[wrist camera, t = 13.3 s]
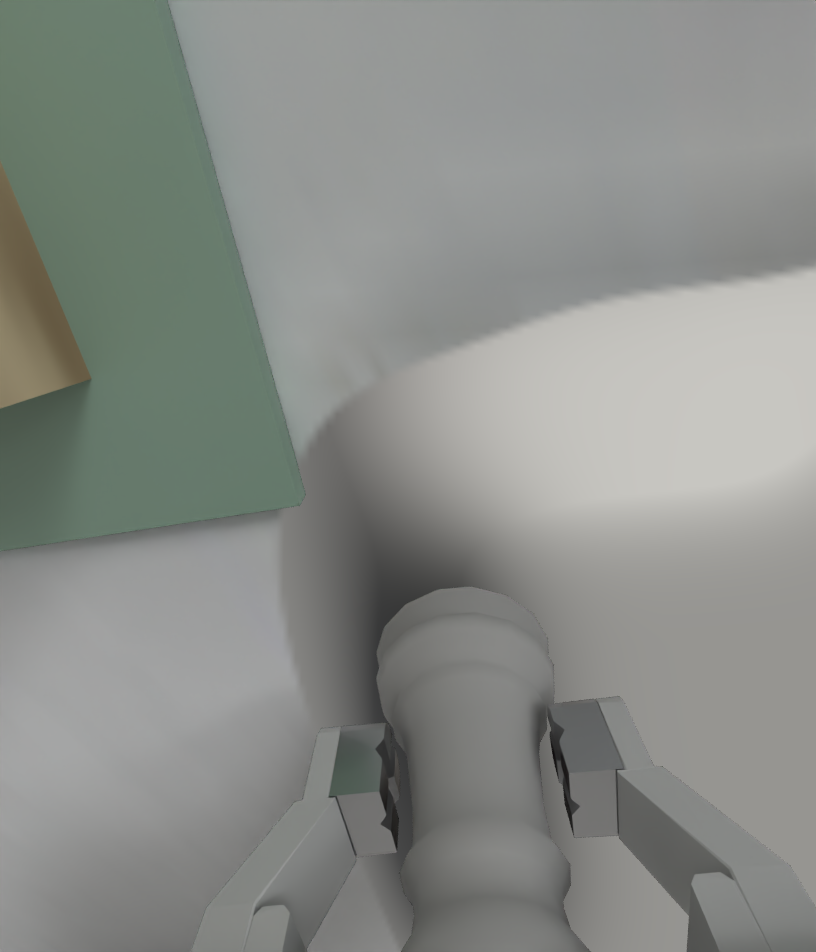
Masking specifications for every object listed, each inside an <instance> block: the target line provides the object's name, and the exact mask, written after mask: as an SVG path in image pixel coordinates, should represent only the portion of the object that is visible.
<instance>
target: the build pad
mask: <svg viewBox="0 0 816 952" xmlns="http://www.w3.org/2000/svg"><path fill="white" fill-rule="evenodd" d="M0 161H1V163H2V166H3V168H4V171H5V173H6V175H7V178H8V180H9V183H10V185H11V187H12V190H13V192H14V194H15V197H16V199H17V202H18V204H19V206H20V209H21V211H22V214H23V216H24V218H25V221H26V223H27V226H28V228H29V230H30V233H31V235H32V237H33V240H34V242H35V245H36V247H37V249H38V252H39V254H40V257H41V259H42V261H43V264H44V266H45V269H46V271H47V273H48V276H49V278H50V281H51V283H52V285H53V288H54V290H55V292H56V295H57V297H58V300H59V302H60V304H61V307H62V309H63V312H64V314H65V316H66V319H67V321H68V324H69V326H70V328H71V331H72V333H73V335H74V338H75V340H76V343H77V345H78V347H79V350H80V352H81V355H82V357H83V359H84V362H85V364H86V367H87V369H88V371H89V374H90V376H91V378H92V379H89V380H86V381H83V382H80V383H77V384H74V385H71V386H68V387H65V388H62V389H59V390H56V391H53V392H50V393H47V394H44V395H40V396H37V397H34V398H31V399H28V400H25V401H22V402H19V403H16V404H13V405H10V406H7V407H4V408H1V409H0V551H5V550H12V549H18V548H25V547H31V546H38V545H45V544H51V543H58V542H64V541H71V540H77V539H84V538H91V537H97V536H104V535H110V534H117V533H123V532H130V531H137V530H143V529H150V528H156V527H163V526H169V525H176V524H183V523H189V522H196V521H202V520H209V519H215V518H222V517H229V516H235V515H242V514H248V513H255V512H262V511H268V510H275V509H281V508H288V507H294V506H300V504H301V503H302V501H303V498H304V497H305V495H306V494H305V490H304V486H303V483H302V479H301V476H300V472H299V469H298V465H297V461H296V458H295V454H294V451H293V447H292V444H291V440H290V436H289V433H288V429H287V426H286V422H285V419H284V415H283V412H282V408H281V404H280V401H279V397H278V394H277V390H276V387H275V383H274V379H273V376H272V372H271V369H270V365H269V362H268V358H267V355H266V351H265V347H264V344H263V340H262V337H261V333H260V330H259V326H258V322H257V319H256V315H255V312H254V308H253V305H252V301H251V298H250V294H249V290H248V287H247V283H246V280H245V276H244V273H243V269H242V265H241V262H240V258H239V255H238V251H237V248H236V244H235V241H234V237H233V233H232V230H231V226H230V223H229V219H228V216H227V212H226V208H225V205H224V201H223V198H222V194H221V191H220V187H219V184H218V180H217V176H216V173H215V169H214V166H213V162H212V159H211V155H210V152H209V148H208V144H207V141H206V137H205V134H204V130H203V127H202V123H201V119H200V116H199V112H198V109H197V105H196V102H195V98H194V95H193V91H192V87H191V84H190V80H189V77H188V73H187V70H186V66H185V62H184V59H183V55H182V52H181V48H180V45H179V41H178V38H177V34H176V30H175V27H174V23H173V20H172V16H171V13H170V9H169V5H168V2H167V0H0Z"/></svg>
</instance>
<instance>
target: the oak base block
mask: <svg viewBox="0 0 816 952" xmlns="http://www.w3.org/2000/svg"><path fill="white" fill-rule="evenodd" d="M89 379H92V378H91V376H90V374H89V371H88V369H87V367H86V364H85V362H84V359H83V357H82V355H81V352H80V350H79V347H78V345H77V343H76V340H75V338H74V335H73V333H72V331H71V328H70V326H69V324H68V321H67V319H66V316H65V314H64V312H63V309H62V307H61V304H60V302H59V300H58V297H57V295H56V292H55V290H54V288H53V285H52V283H51V281H50V278H49V276H48V273H47V271H46V269H45V266H44V264H43V261H42V259H41V257H40V254H39V252H38V249H37V247H36V245H35V242H34V240H33V237H32V235H31V233H30V230H29V228H28V226H27V223H26V221H25V218H24V216H23V214H22V211H21V209H20V206H19V204H18V202H17V199H16V197H15V194H14V192H13V190H12V187H11V185H10V183H9V180H8V178H7V175H6V173H5V171H4V168H3V166H2V163H1V161H0V409H1V408H4V407H7V406H10V405H13V404H16V403H19V402H22V401H25V400H28V399H31V398H34V397H37V396H40V395H44V394H47V393H50V392H53V391H56V390H59V389H62V388H65V387H68V386H71V385H74V384H77V383H80V382H83V381H86V380H89Z"/></svg>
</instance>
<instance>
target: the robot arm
mask: <svg viewBox="0 0 816 952" xmlns="http://www.w3.org/2000/svg"><path fill="white" fill-rule="evenodd" d="M547 711H548V719H549V723H550V726H551V732H550V740H551V748H552V754H553V759H554V764H555V768H556V772H557V776H558V779H559V783H561V784H562V785H563V789H564V790H563V791H564V801H565V806H566V810H567V813H568V817H569V821H570V824H571V828H572V832H573V835H574V838H582V837H599V836H600V837H601V836H619V839H620V840H621V841H622V842H623V843H624V844H625V845H626V846H627V848H628V849H629V850H630V851H631V852H632V853H633V854H634V855H635V856H636V858H637V859H638V860H639V861H640V862H641V863H642V864H643V865H644V866H645V868H646V869H647V870H648V871H649V872H650V873H651V874H652V875H653V876H654V878H656V880H657V881H658V882H659V883H660V884H661V885H662V886H663V888H664V889H665V890H666V891H667V892H668V893H669V894H670V895H671V897H672V898H673V899H674V900H675V901H676V902H677V903H678V904H679V905H680V906H681V908H682V909H683V910H684V911H685V912H686V913H687V914H688V915H689V926H688V940H687V952H816V907H815V905H814V903H813V902H812V900H811V899H810V897H809V895H808V894H807V892H806V890H805V889H804V887H803V886H802V884H801V882H800V881H799V879H798V877H797V876H796V874H795V873H794V871H793V869H792V868H791V866H790V865H789V864H788V863H786V862H785V861H784V860H783V859H781V858H780V857H778V856H777V855H776V854H775V853H774V852H772V851H771V850H770V849H768V848H767V847H766V846H765V845H763V844H762V843H761V842H759V841H758V840H757V839H755V838H754V837H753V836H752V835H750V834H749V833H748V832H746V831H745V830H744V829H742V828H741V827H740V826H739V825H737V824H736V823H735V822H734V821H732V820H731V819H730V818H728V817H727V816H726V815H724V814H723V813H722V812H721V811H719V810H718V809H717V808H715V807H714V806H713V805H712V804H710V803H709V802H708V801H706V800H705V799H704V798H702V797H701V796H700V795H699V794H697V793H696V792H695V791H693V790H692V789H691V788H690V787H688V786H687V785H686V784H684V783H683V782H682V781H681V780H679V779H678V778H677V777H675V776H674V775H673V774H672V773H670V772H669V771H668V770H666V769H665V768H664V767H663V766H660V767H654V765H653V762H652V760H651V759H650V756H649V754H648V752H647V750H646V748H645V745H644V743H643V741H642V739H641V737H640V735H639V733H638V731H637V728H636V726H635V724H634V722H633V720H632V718H631V716H630V714H629V711H628V709H627V707H626V705H625V703H624V701H623V699H622V698H621V697H619V696H617V697H608V698H599V699H595V700H594V699H589V700H579V701H571V702H563V703H555V704H548V705H547ZM391 738H392V733H391V730H390V726H389V724H388V723H376V724H375V723H374V724H362V725H349V726H340V727H329V728H321V729H320V731H319V733H318V735H317V738H316V742H315V746H314V751H313V755H312V759H311V764H310V768H309V772H308V777H307V781H306V785H305V790H304V794H303V798H302V800H300V801H295V802H294V803H293V804H292V806H291V807H290V808H289V809H288V810H287V812H286V813H285V814H284V815H283V816H282V818H281V819H280V820H279V821H278V822H277V824H276V825H275V826H274V827H273V828H272V830H271V831H270V832H269V833H268V834H267V836H266V837H265V838H264V839H263V840H262V842H261V843H260V844H259V845H258V846H257V848H256V849H255V850H254V851H253V852H252V854H251V855H250V856H249V857H248V858H247V860H246V861H245V862H244V863H243V864H242V866H241V867H240V868H239V869H238V870H237V872H236V873H235V874H234V875H233V876H232V878H231V879H230V880H229V881H228V882H227V884H226V885H225V886H224V887H223V888H222V890H221V891H220V892H219V893H218V894H217V896H216V897H215V898H214V899H213V900H212V902H211V903H210V904H209V905H208V906H207V907H206V910H205V913H204V916H203V918H202V921H201V924H200V927H199V930H198V933H197V936H196V939H195V942H194V945H193V947H192V950H191V952H307V948H308V946H309V944H310V942H311V941H312V939H313V937H314V935H315V934H316V932H317V930H318V928H319V926H320V925H321V923H322V921H323V919H324V917H325V916H326V914H327V912H328V910H329V909H330V907H331V905H332V903H333V901H334V900H335V898H336V896H337V894H338V893H339V891H340V889H341V887H342V885H343V884H344V882H345V880H346V878H347V877H348V875H349V873H350V871H351V869H352V868H353V866H354V864H355V862H356V857H363V856H372V855H381V854H389V853H397V841H398V823H399V818H398V814H397V810H396V806H395V803H396V802H397V800H398V799H399V797H400V771H399V762H398V756H397V752H396V749H395V748H394V747H393V746H391V740H392V739H391Z"/></svg>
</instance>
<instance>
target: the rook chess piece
mask: <svg viewBox="0 0 816 952" xmlns="http://www.w3.org/2000/svg"><path fill="white" fill-rule="evenodd" d="M376 654H377V659H378V664H379V671H378V674H377V677H376V680H377V685H378V691H379V696H380V701H381V705H382V710H383V714H384V717H385V718H386V720H387V721H388V722H389V723H390V725H391V726H392V727H393V730H394V735H395V740H396V741H397V742H398V744H399V745H400V746H401V747H402V748H403V750H404V751H405V754H406V758H407V763H408V773H409V781H410V790H411V798H412V808H413V834H412V838H413V839H412V848H411V850H410V851H409V852H408V854H407V856H406V859H405V861H404V863H403V866H402V868H401V870H400V873H399V874H400V878H401V883H402V888H403V892H404V894H405V896H406V897H407V899H408V900H409V902H410V903H411V905H412V906H413V910H414V920H413V927H412V934H411V936H410V938H409V939H408V941H407V942H406V944H405V946H404V947H403V949H402V951H401V952H590V951H589V949H588V948H587V947H586V946H585V945H584V944H583V942H582V941H581V940H580V939H579V938H578V937H577V936H576V934H575V933H574V932H573V931H572V930H571V928H570V925H569V922H568V919H567V916H566V913H565V910H564V904H563V900H564V898H565V896H566V894H567V892H568V890H569V888H570V886H571V883H570V882H571V881H570V863H569V862H568V861H567V859H566V858H565V856H564V855H563V853H562V852H561V851H560V849H559V848H558V846H557V845H556V844H555V843H554V842H553V841H552V840H551V835H550V831H549V826H548V822H547V817H546V813H545V809H544V804H543V795H542V794H543V793H542V782H541V771H540V761H539V746H540V745H539V744H540V742H541V740H542V737H543V736H544V734H545V732H546V730H547V721H546V720H547V716H548V711H547V705H548V704H554V665H553V663H552V661H551V659H550V658H549V656H548V638H547V637H546V634H545V633H544V631H543V629H542V627H541V626H540V624H539V622H538V621H537V619H536V617H535V615H534V614H533V613H532V612H531V611H529V610H527V609H526V608H525V607H523V606H522V605H520V604H519V603H517V602H516V601H515V600H513V599H512V598H510V597H509V596H507V595H505V594H500V593H496V592H492V591H488V590H484V589H480V588H476V587H471V586H467V587H456V588H446V589H438V590H436V591H433V592H431V593H429V594H427V595H425V596H422V597H420V598H418V599H416V600H414V601H411V602H409V603H407V604H405V605H404V606H403V608H401V610H400V611H399V612H398V613H397V614H396V615H395V616H394V617H393V618H392V619H391V620H390V621H389V622H388V623H387V624H386V626H385V627H384V630H383V633H382V636H381V639H380V642H379V646H378V649H377V652H376Z"/></svg>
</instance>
